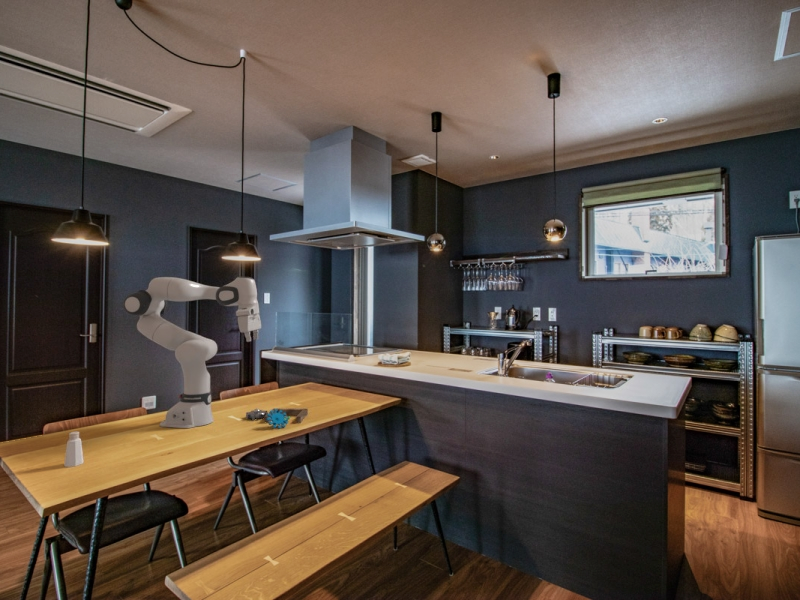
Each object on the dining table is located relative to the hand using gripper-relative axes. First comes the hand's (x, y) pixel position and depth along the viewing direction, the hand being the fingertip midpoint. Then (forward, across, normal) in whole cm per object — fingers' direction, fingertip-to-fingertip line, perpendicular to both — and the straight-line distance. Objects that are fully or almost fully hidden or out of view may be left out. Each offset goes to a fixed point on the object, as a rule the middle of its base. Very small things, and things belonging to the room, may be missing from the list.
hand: (252, 340), depth 196 cm
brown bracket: (+40, -7, +9) cm, 42 cm away
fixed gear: (+38, -10, -6) cm, 40 cm away
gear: (+40, +6, +9) cm, 42 cm away
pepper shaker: (+33, +50, -49) cm, 77 cm away
